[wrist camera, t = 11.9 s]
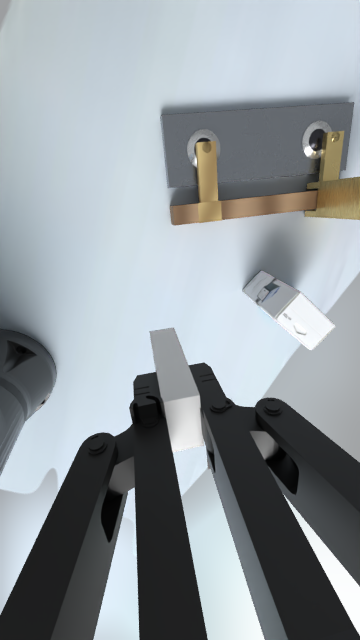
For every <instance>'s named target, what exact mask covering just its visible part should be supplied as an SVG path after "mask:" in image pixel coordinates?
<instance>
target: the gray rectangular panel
mask: <svg viewBox="0 0 360 640" xmlns="http://www.w3.org/2000/svg"><path fill="white" fill-rule="evenodd" d="M353 108H354V102H352V103H337V104H321V105H306V106H291V107H276V108H260V109H245V110H230V111H215V112H200V113H184V114H169V115H162V116H161V126H162V136H163V146H164V155H165V165H166V175H167V184H168V188H174V187H184V186H194V185H198V176H197V160H196V145H195V144H196V143H197V142H210V141H216V157H217V183H224V182H235V181H245V180H255V179H265V178H275V177H285V176H295V175H305V174H315V173H320V164H321V153H322V143H323V134H324V133H327V132H336V131H344V138H343V147H342V155H341V163H340V171H343V170H346V162H347V154H348V146H349V139H350V131H351V123H352V115H353Z"/></svg>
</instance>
